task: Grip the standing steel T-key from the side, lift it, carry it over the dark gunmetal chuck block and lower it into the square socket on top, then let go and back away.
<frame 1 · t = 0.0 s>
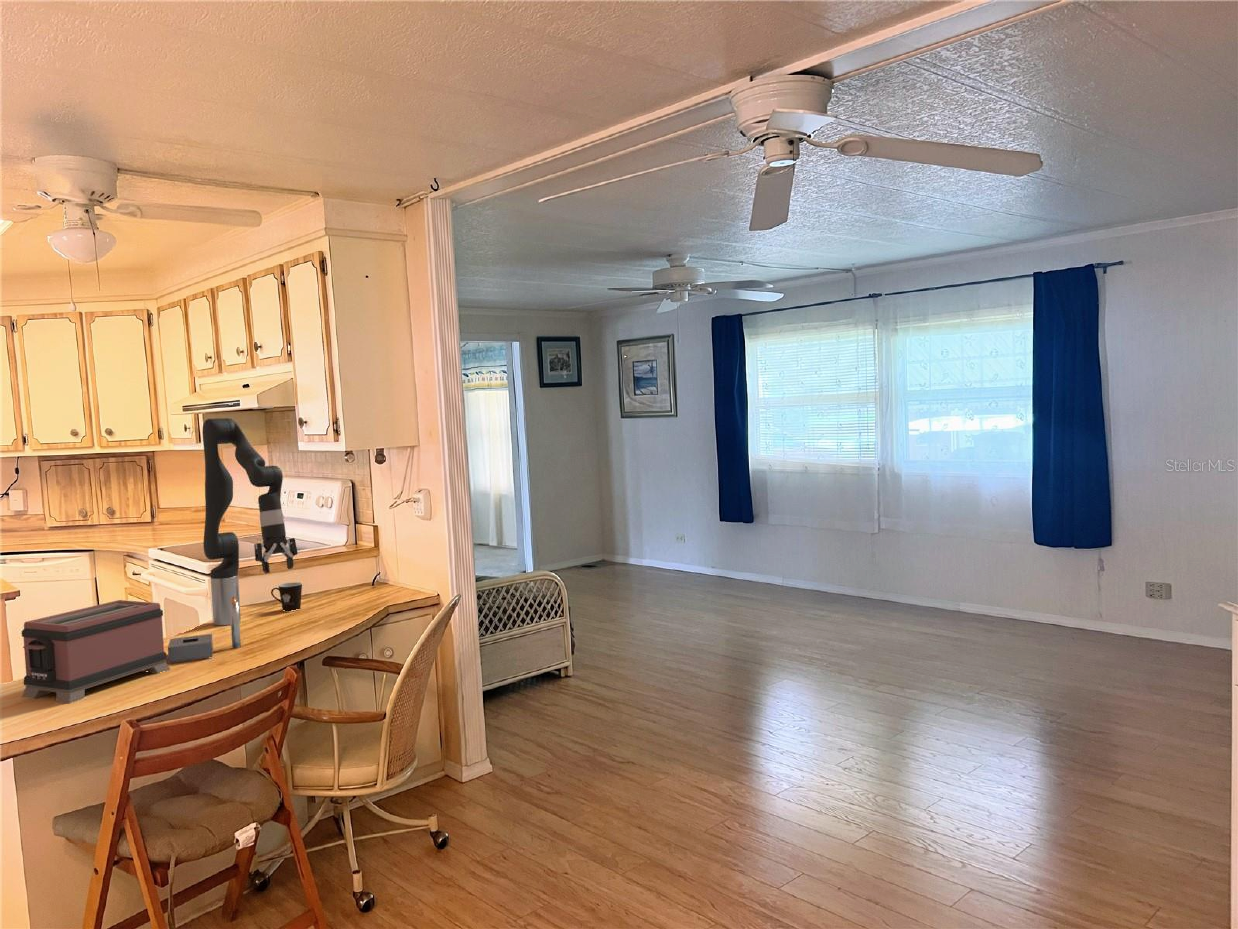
hand: (278, 571, 288), 22 cm above the table, tool pointing down, fingers open, 8 cm apart
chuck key: (236, 647, 276), on the table
coffee mug: (289, 610, 330), on the table
toaster: (94, 685, 240), on the table
chuck block: (191, 656, 267), on the table
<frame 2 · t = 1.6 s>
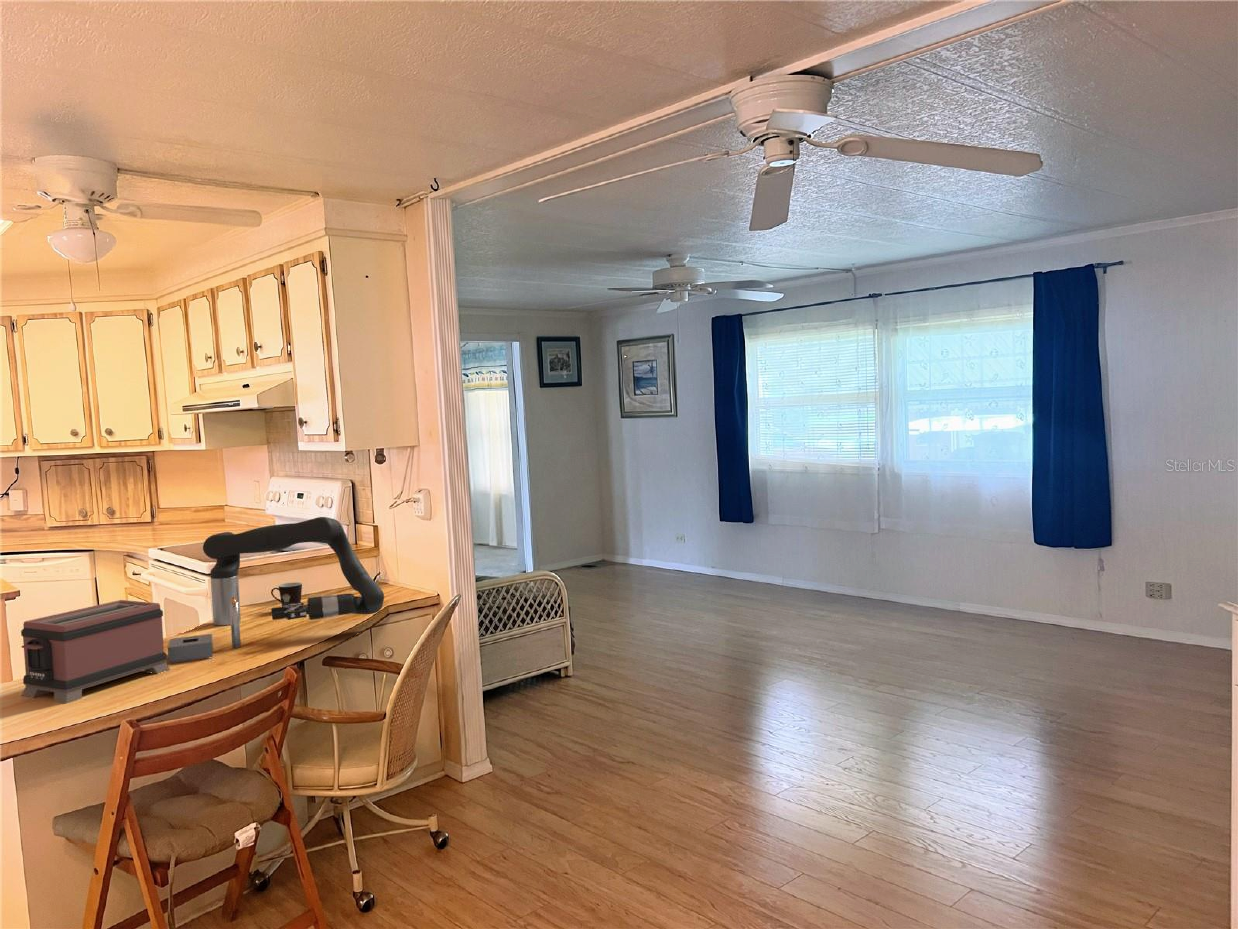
hand: (271, 614, 280), 10 cm above the table, tool horizontal, fingers open, 8 cm apart
nothing on the table moved.
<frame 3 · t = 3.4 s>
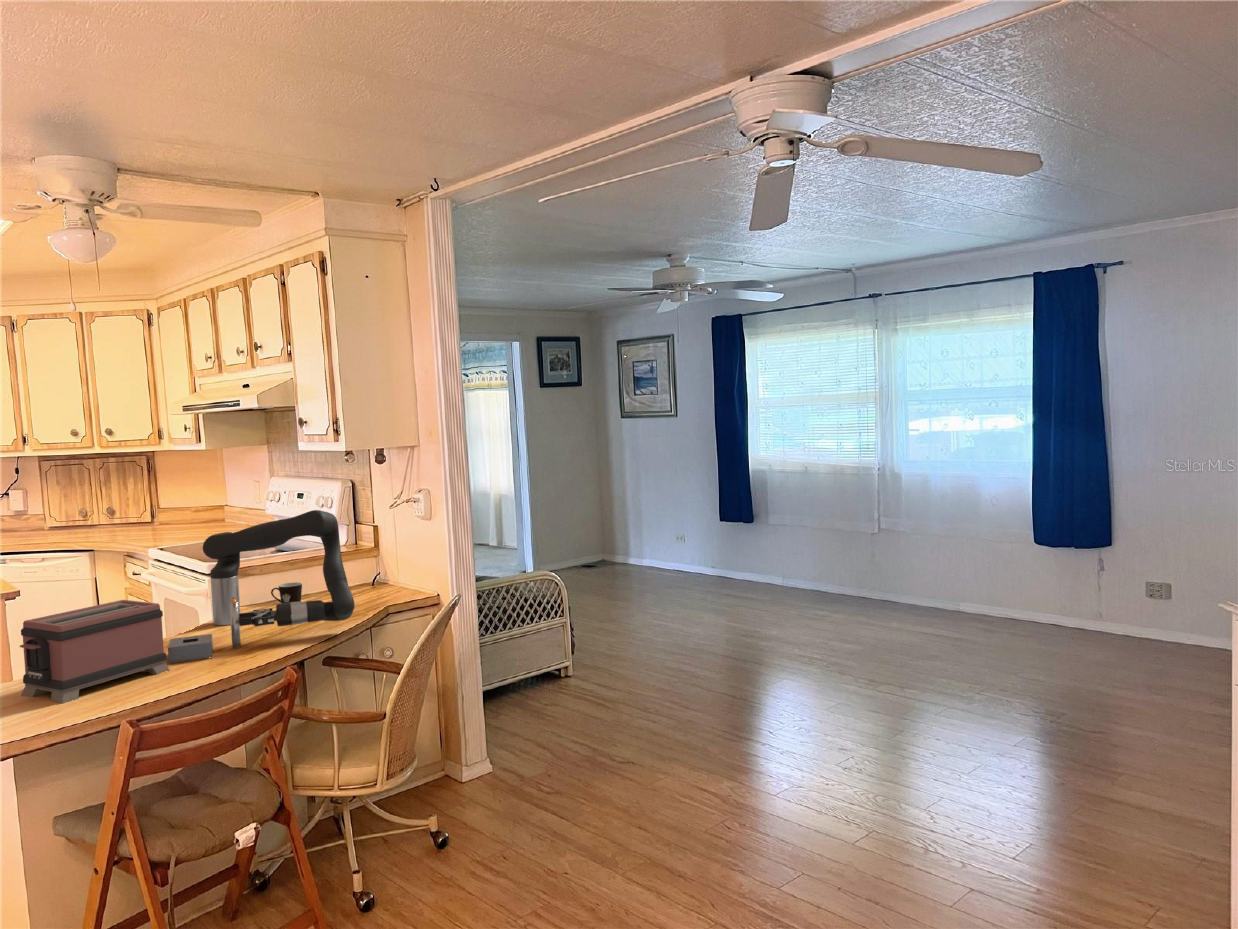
hand: (238, 619, 276), 9 cm above the table, tool horizontal, fingers open, 8 cm apart
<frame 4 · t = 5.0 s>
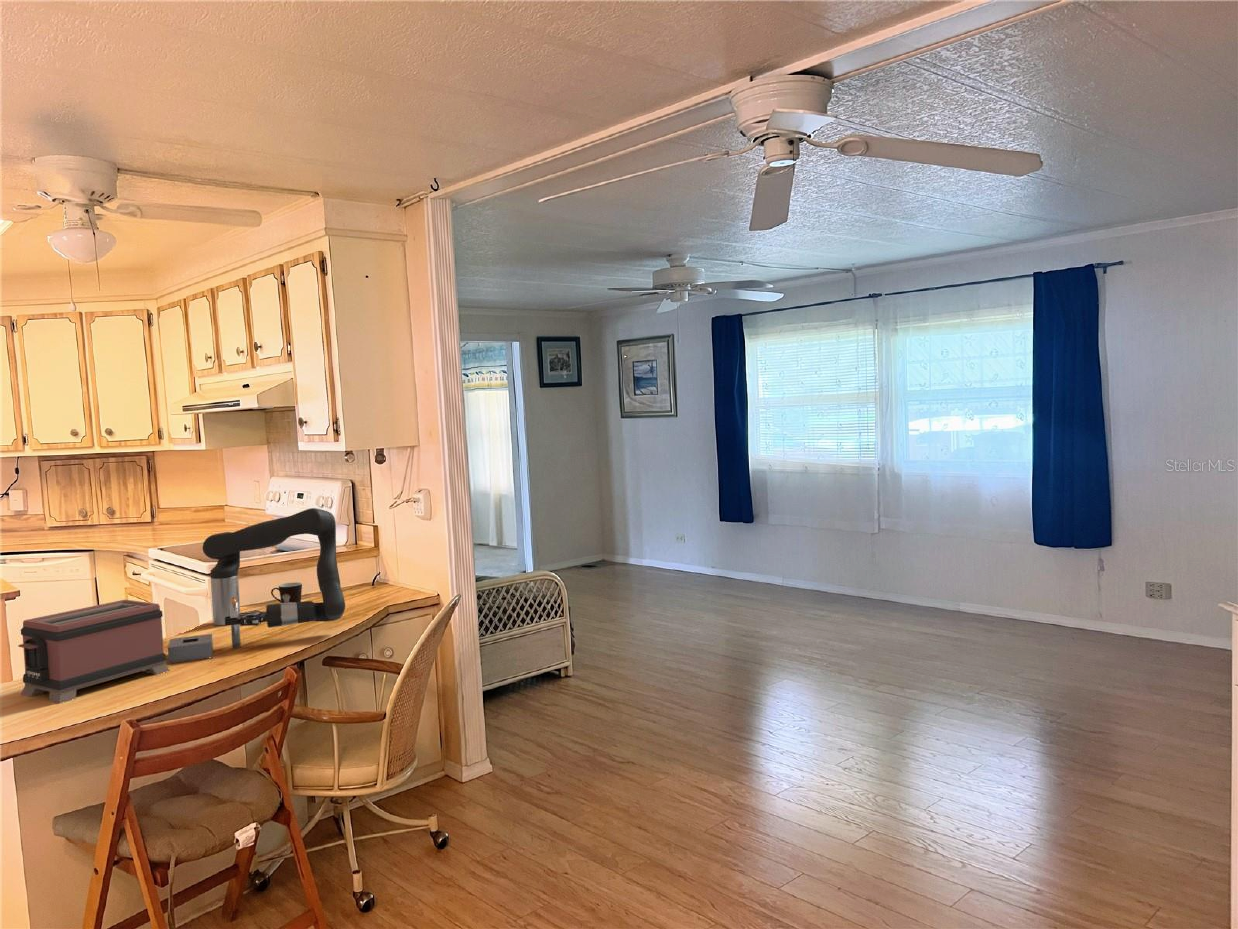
hand: (225, 621, 274), 9 cm above the table, tool horizontal, fingers closed on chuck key, 2 cm apart
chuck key: (236, 647, 276), on the table, touching gripper
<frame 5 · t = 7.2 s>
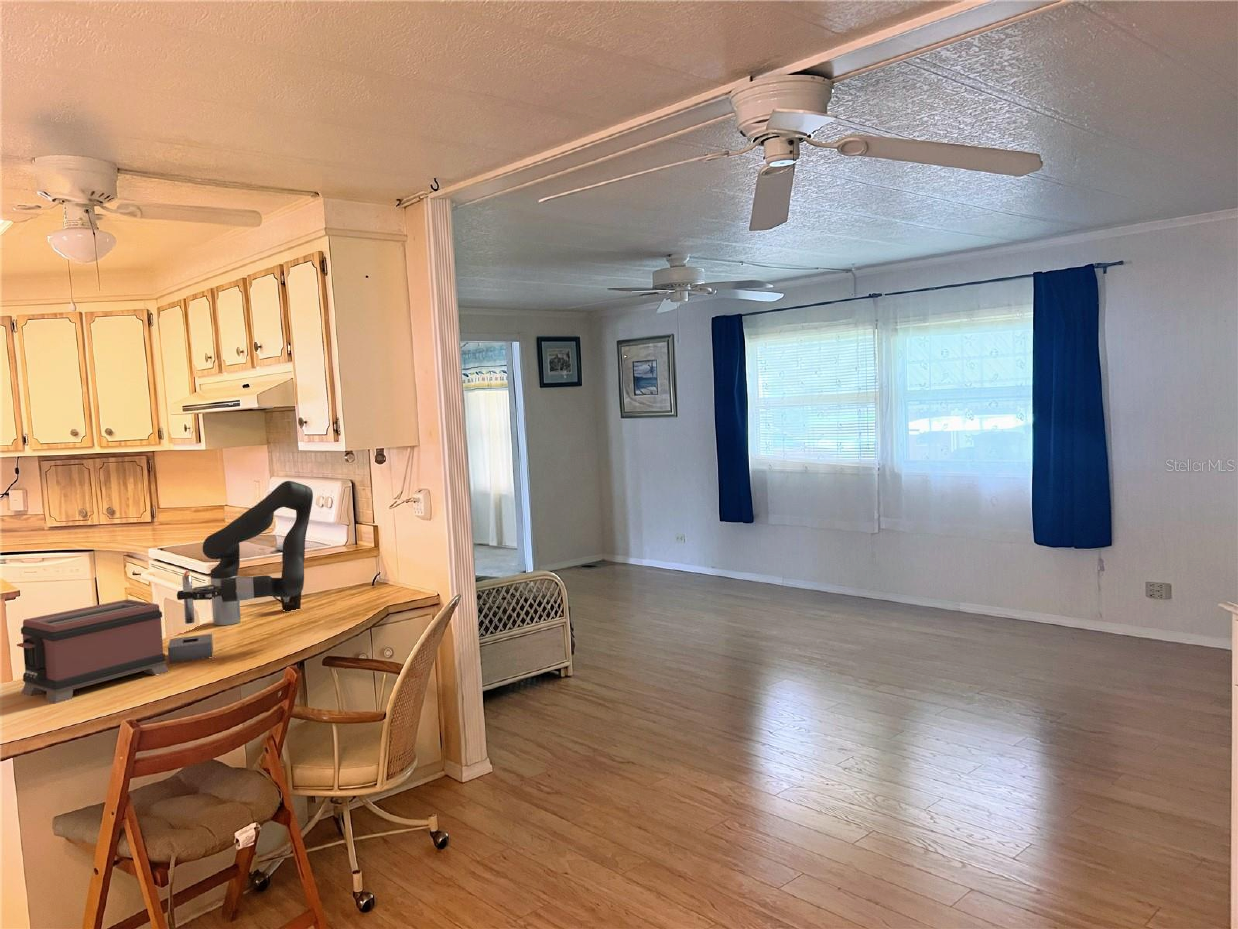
hand: (177, 595, 264), 20 cm above the table, tool horizontal, fingers closed on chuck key, 2 cm apart
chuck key: (189, 622, 266), point 11 cm above the table, touching gripper
when the fingers open (11 cm above the table, at t = 9.4 s): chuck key stays where it is, resting on chuck block.
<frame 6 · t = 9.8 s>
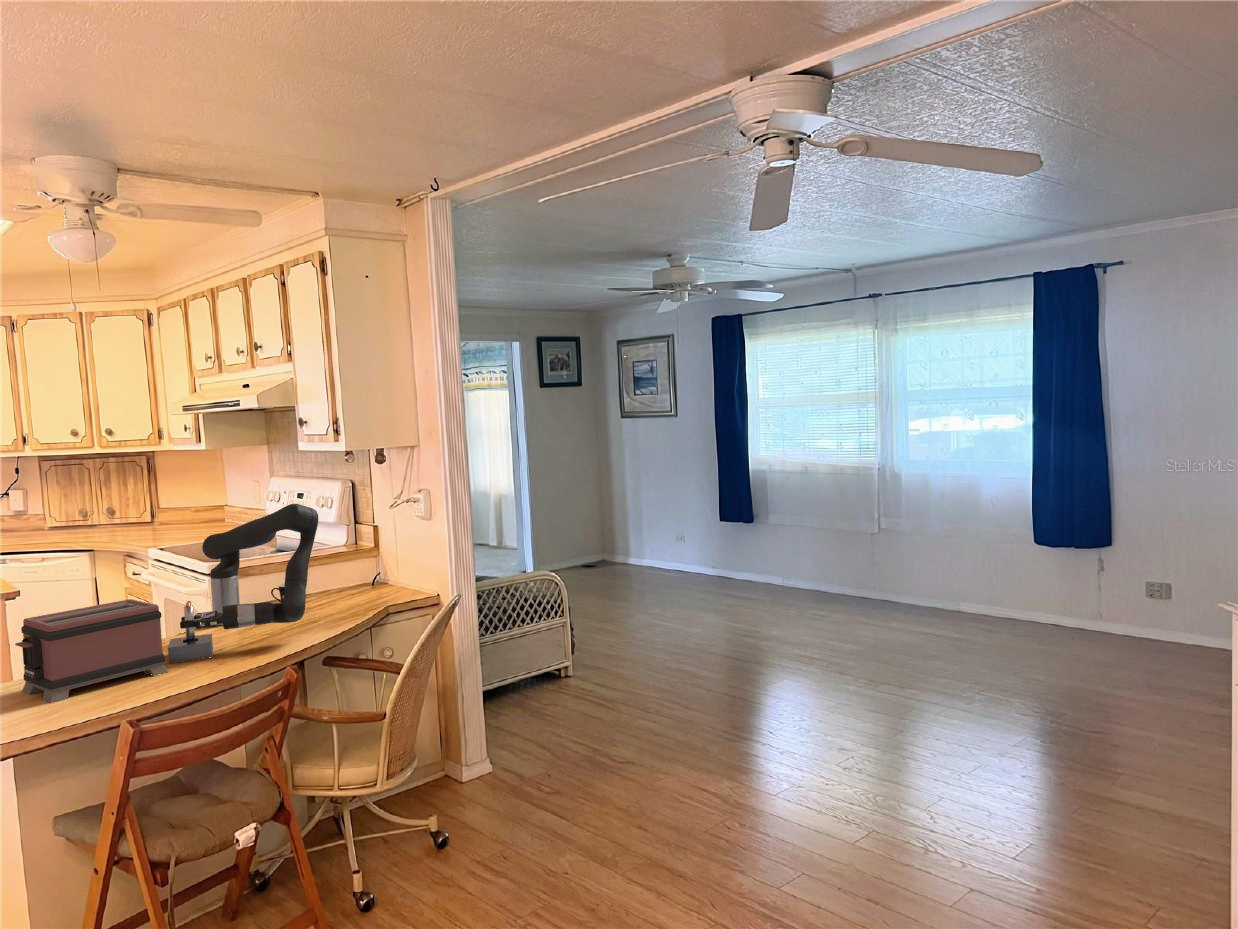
hand: (181, 622, 265), 11 cm above the table, tool horizontal, fingers open, 6 cm apart
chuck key: (191, 652, 267), point 1 cm above the table, touching chuck block
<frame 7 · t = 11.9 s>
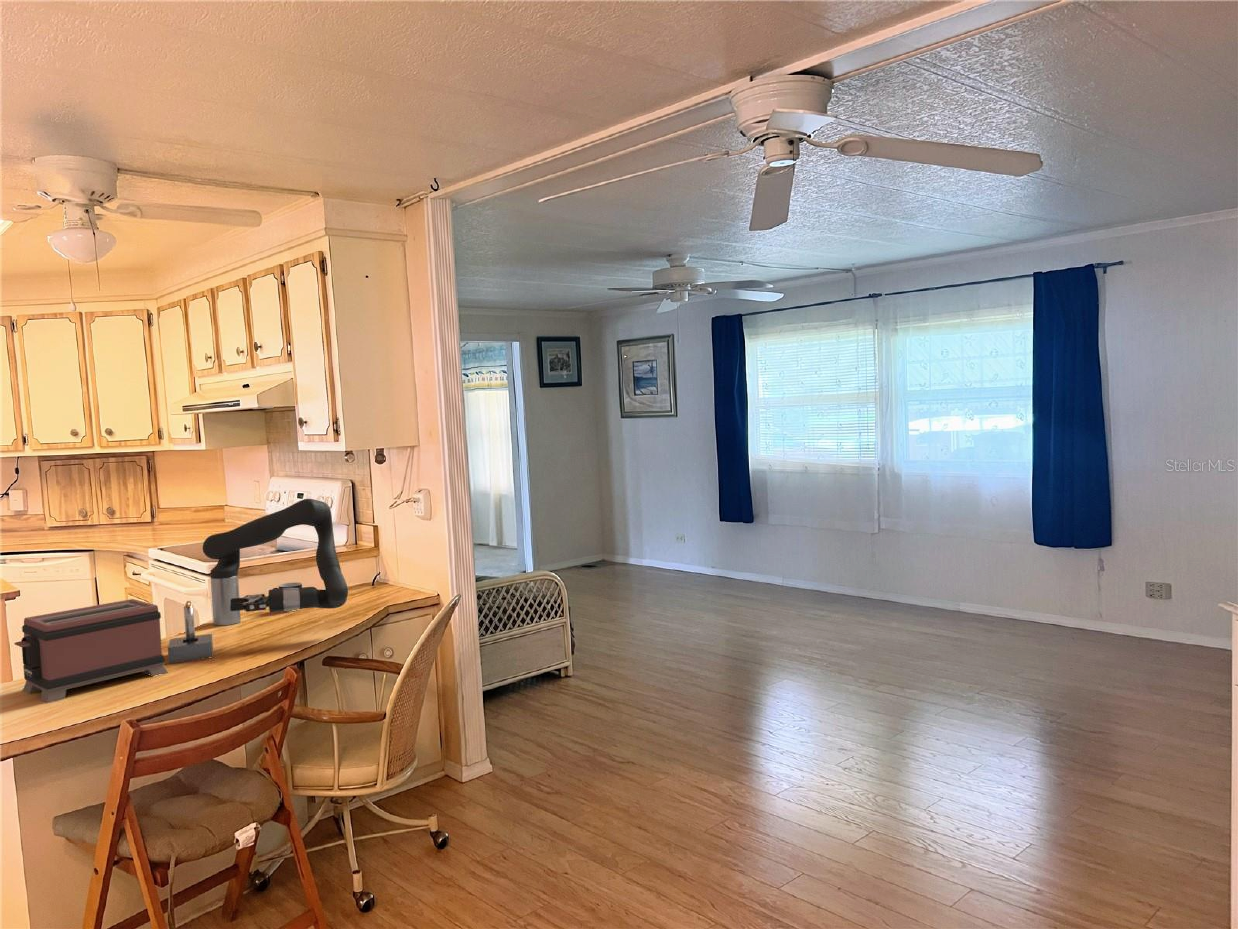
hand: (230, 605, 272), 15 cm above the table, tool horizontal, fingers open, 8 cm apart
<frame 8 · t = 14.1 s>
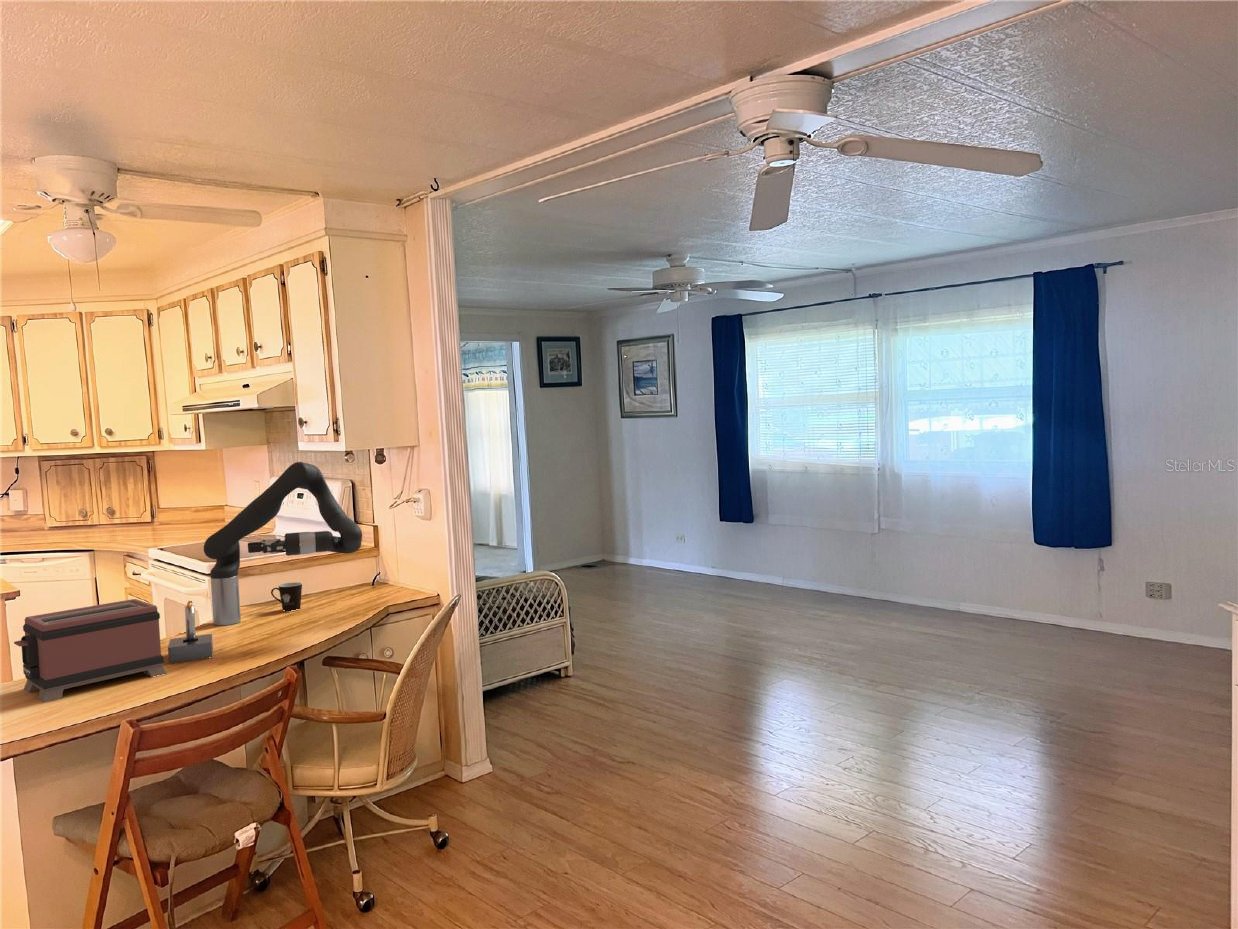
hand: (247, 547, 278), 32 cm above the table, tool horizontal, fingers open, 8 cm apart
at the end: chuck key 0.1 cm off-centre on the chuck block, point 1.1 cm above the chuck block's base; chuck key tilted 1°; the gripper is holding nothing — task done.
